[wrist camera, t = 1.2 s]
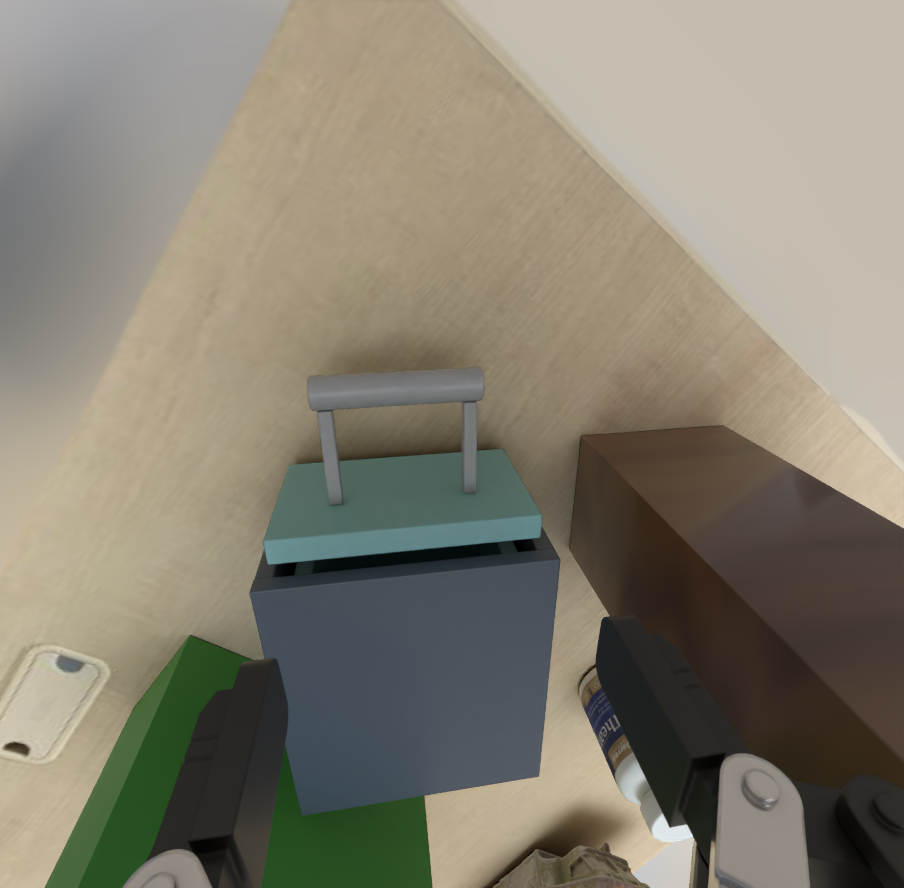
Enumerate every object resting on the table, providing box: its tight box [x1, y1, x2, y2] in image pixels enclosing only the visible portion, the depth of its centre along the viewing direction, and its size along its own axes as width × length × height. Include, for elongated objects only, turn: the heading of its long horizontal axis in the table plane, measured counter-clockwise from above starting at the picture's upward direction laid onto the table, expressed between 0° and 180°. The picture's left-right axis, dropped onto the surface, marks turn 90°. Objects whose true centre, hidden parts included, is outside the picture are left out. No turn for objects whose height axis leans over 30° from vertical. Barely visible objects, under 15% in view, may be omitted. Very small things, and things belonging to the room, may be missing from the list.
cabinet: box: [250, 526, 560, 816], centre depth 27 cm, size 15×13×9 cm
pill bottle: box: [579, 667, 693, 842], centre depth 33 cm, size 5×5×10 cm
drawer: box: [263, 367, 542, 575], centre depth 24 cm, size 19×11×7 cm, turn 1°
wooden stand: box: [569, 426, 904, 790], centre depth 20 cm, size 8×9×22 cm
